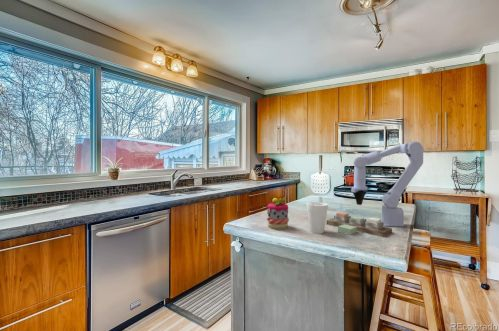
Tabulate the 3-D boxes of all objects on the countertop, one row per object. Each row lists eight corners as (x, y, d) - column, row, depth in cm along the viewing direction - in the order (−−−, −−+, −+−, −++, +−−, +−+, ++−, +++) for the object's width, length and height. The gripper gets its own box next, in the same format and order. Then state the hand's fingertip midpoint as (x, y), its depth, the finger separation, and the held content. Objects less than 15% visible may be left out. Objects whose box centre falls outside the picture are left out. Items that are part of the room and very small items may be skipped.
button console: (392, 232, 117) (392, 222, 117) (383, 236, 111) (383, 226, 111) (336, 220, 138) (336, 212, 138) (326, 224, 132) (326, 215, 132)
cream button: (381, 225, 118) (381, 219, 118) (377, 227, 115) (377, 220, 115) (371, 223, 122) (371, 217, 121) (367, 225, 119) (367, 218, 119)
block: (356, 232, 118) (356, 226, 118) (350, 234, 114) (350, 229, 114) (344, 229, 122) (344, 224, 122) (337, 231, 118) (338, 226, 118)
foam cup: (323, 235, 113) (324, 206, 112) (303, 232, 117) (304, 204, 117) (329, 230, 121) (329, 203, 120) (310, 227, 125) (310, 201, 125)
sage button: (363, 223, 124) (364, 217, 124) (359, 225, 121) (359, 219, 121) (355, 222, 128) (355, 216, 128) (350, 223, 125) (351, 217, 125)
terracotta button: (348, 219, 130) (348, 213, 130) (344, 220, 127) (344, 214, 127) (340, 217, 134) (340, 211, 134) (336, 218, 131) (336, 213, 131)
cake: (263, 227, 125) (263, 197, 125) (272, 222, 134) (272, 194, 134) (284, 230, 120) (284, 199, 120) (291, 225, 129) (291, 196, 129)
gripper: (358, 178, 143) (358, 202, 144) (345, 179, 134) (345, 205, 134) (371, 179, 138) (370, 203, 138) (358, 180, 128) (358, 207, 129)
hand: (359, 204), depth 136 cm, fingers closed
